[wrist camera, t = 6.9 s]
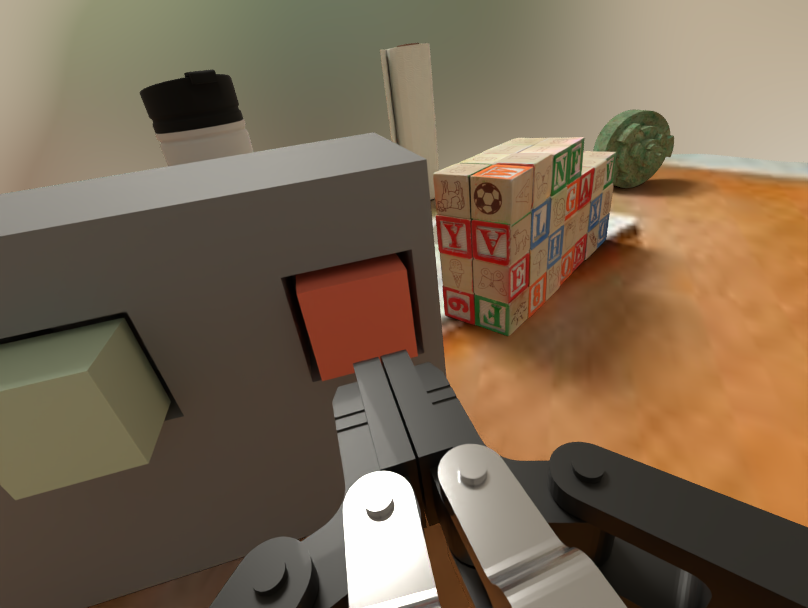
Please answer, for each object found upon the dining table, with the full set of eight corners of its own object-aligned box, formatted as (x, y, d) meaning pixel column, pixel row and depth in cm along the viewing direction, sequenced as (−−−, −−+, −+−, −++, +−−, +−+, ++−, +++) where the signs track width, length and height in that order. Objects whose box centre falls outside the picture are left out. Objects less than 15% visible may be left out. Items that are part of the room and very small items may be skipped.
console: (-96, 666, 16) (-660, 355, 8) (20, 489, 24) (-225, 231, 16) (456, 487, 20) (426, 159, 12) (411, 382, 28) (373, 132, 20)
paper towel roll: (437, 189, 69) (425, 43, 59) (444, 199, 64) (433, 39, 53) (396, 196, 69) (376, 50, 58) (400, 206, 64) (379, 47, 53)
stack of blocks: (551, 232, 48) (558, 119, 41) (607, 240, 44) (624, 117, 38) (443, 317, 34) (430, 170, 28) (509, 339, 31) (511, 175, 24)
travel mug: (254, 344, 34) (151, 75, 24) (221, 320, 38) (122, 84, 28) (314, 311, 38) (246, 65, 28) (278, 293, 42) (208, 74, 32)
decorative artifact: (649, 177, 61) (662, 104, 56) (687, 188, 55) (705, 107, 50) (588, 189, 59) (596, 115, 54) (620, 201, 53) (632, 119, 48)
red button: (322, 381, 14) (296, 294, 13) (316, 339, 17) (294, 261, 15) (417, 356, 15) (406, 269, 13) (399, 319, 17) (388, 241, 16)
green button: (15, 500, 12) (-75, 408, 10) (61, 429, 14) (-4, 345, 12) (148, 463, 12) (87, 371, 10) (170, 401, 14) (124, 317, 13)
